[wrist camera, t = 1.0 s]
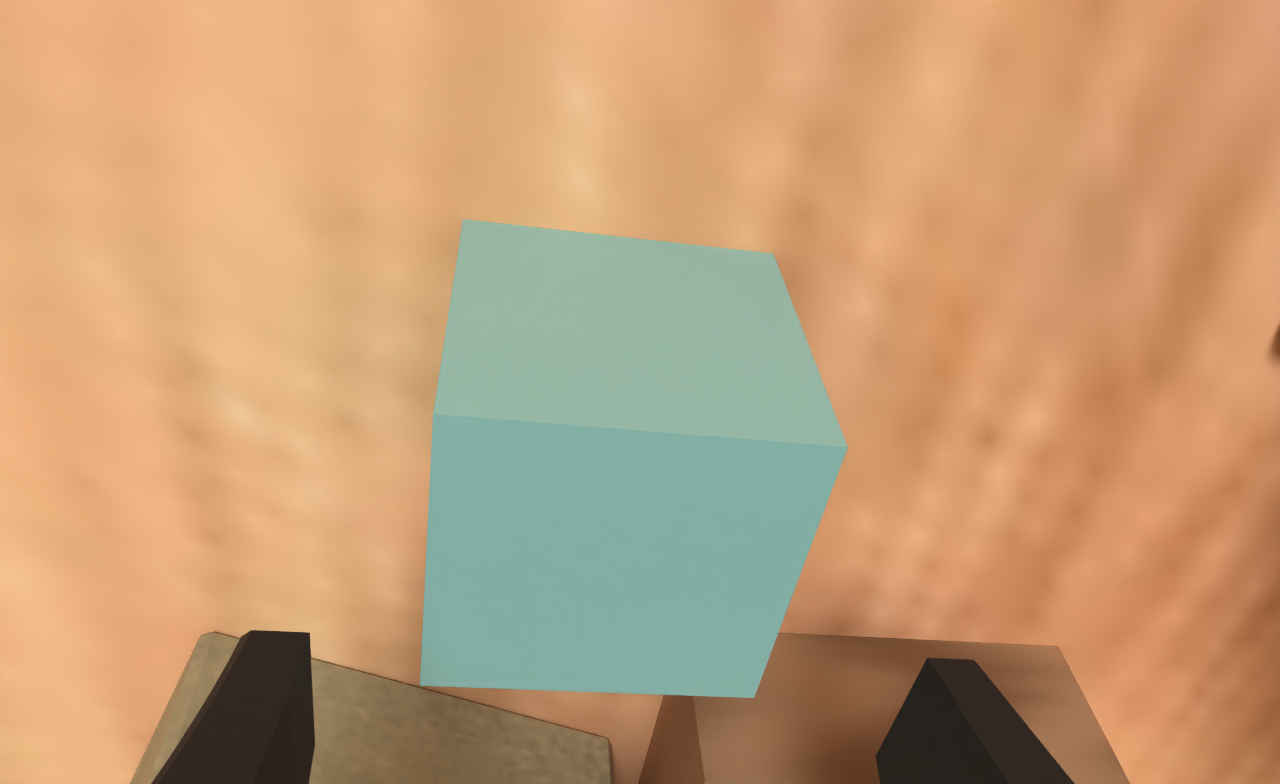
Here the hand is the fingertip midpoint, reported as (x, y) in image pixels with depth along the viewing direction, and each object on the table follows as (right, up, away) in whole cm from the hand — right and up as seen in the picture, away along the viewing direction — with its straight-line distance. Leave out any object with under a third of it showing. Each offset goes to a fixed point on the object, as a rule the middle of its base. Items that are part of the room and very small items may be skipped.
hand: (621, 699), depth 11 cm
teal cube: (0, +4, +6) cm, 7 cm away
